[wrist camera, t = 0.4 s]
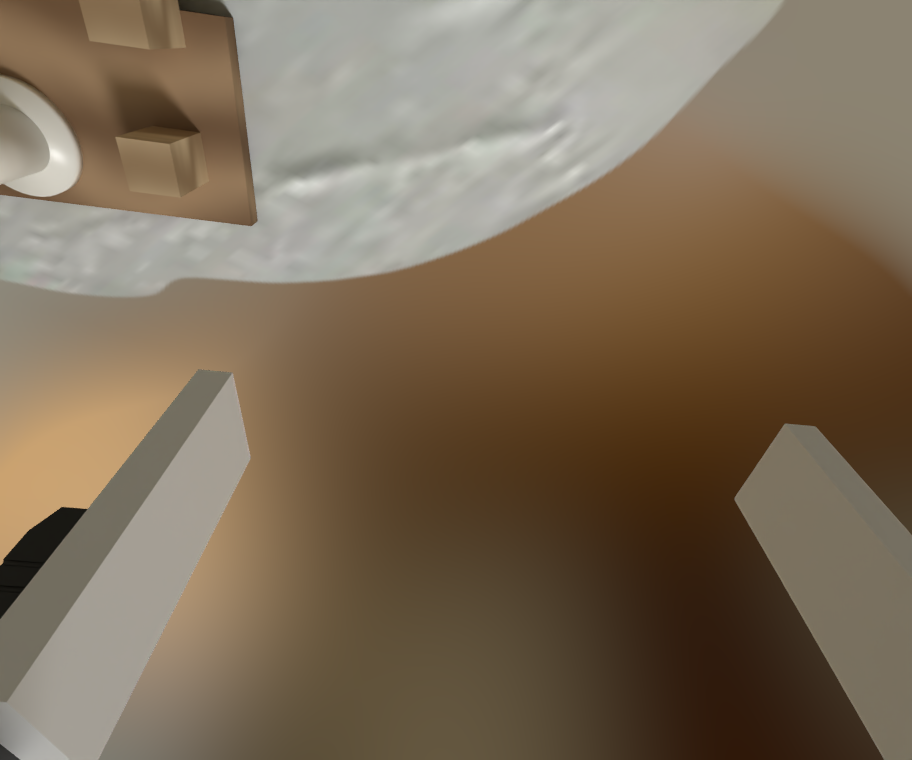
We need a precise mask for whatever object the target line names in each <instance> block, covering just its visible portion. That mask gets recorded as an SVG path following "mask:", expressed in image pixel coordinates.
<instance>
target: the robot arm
mask: <svg viewBox="0 0 912 760" xmlns="http://www.w3.org/2000/svg"><path fill="white" fill-rule="evenodd" d="M249 460H250V452H249V448H248V443H247V439H246V434H245V429H244V424H243V419H242V415H241V410H240V405H239V401H238V396H237V391H236V386H235V382H234V377H233V373H231V372H220V371H210V370H198V371H197V372H196V373H195V375H194V376H193V377H192V378H191V379H190V381H189V382H188V383H187V385H186V386H185V387H184V388H183V390H182V391H181V392H180V393H179V395H178V396H177V397H176V398H175V400H174V401H173V402H172V403H171V405H170V406H169V407H168V408H167V410H166V411H165V412H164V414H163V415H162V416H161V417H160V419H159V420H158V421H157V422H156V424H155V425H154V426H153V427H152V429H151V430H150V431H149V432H148V434H147V435H146V436H145V438H144V439H143V440H142V441H141V442H140V444H139V445H138V446H137V448H136V449H135V450H134V452H133V453H132V454H131V455H130V456H129V458H128V459H127V460H126V462H125V463H124V464H123V465H122V467H121V468H120V469H119V470H118V471H117V473H116V474H115V475H114V477H113V478H112V479H111V480H110V482H109V483H108V484H107V485H106V487H105V488H104V489H103V490H102V492H101V493H100V494H99V495H98V497H97V498H96V499H95V500H94V502H93V503H92V504H91V506H90V507H89V508H88V509H80V508H66V507H61V508H60V509H59V510H57V511H56V512H54V513H53V514H52V515H50V516H49V517H48V518H46V519H44V520H43V521H42V522H40V523H39V524H37V525H36V526H34V527H33V528H32V529H30V530H29V531H28V532H27V533H26V534H25V535H24V536H23V538H22V539H21V540H20V541H19V542H18V543H17V545H16V546H15V547H14V548H13V549H12V550H11V551H10V552H9V554H8V555H7V556H6V557H5V558H4V562H3V564H2V565H0V760H98V759H99V757H100V755H101V753H102V751H103V749H104V747H105V745H106V743H107V741H108V739H109V737H110V735H111V733H112V731H113V729H114V727H115V725H116V723H117V721H118V719H119V717H120V715H121V713H122V711H123V709H124V707H125V705H126V703H127V701H128V699H129V697H130V696H131V694H132V692H133V690H134V688H135V686H136V684H137V682H138V680H139V678H140V676H141V673H142V672H143V670H144V668H145V666H146V664H147V662H148V660H149V658H150V656H151V654H152V652H153V650H154V648H155V646H156V644H157V642H158V640H159V638H160V636H161V634H162V632H163V630H164V628H165V626H166V624H167V622H168V620H169V618H170V616H171V614H172V612H173V611H174V609H175V606H176V605H177V603H178V600H179V599H180V597H181V595H182V593H183V591H184V589H185V587H186V585H187V583H188V581H189V579H190V577H191V575H192V573H193V571H194V569H195V567H196V565H197V563H198V561H199V559H200V557H201V555H202V553H203V551H204V549H205V547H206V545H207V543H208V541H209V539H210V537H211V535H212V533H213V531H214V529H215V527H216V525H217V523H218V521H219V520H220V518H221V515H222V514H223V512H224V510H225V508H226V506H227V504H228V502H229V500H230V498H231V496H232V494H233V492H234V490H235V488H236V486H237V484H238V482H239V480H240V478H241V476H242V474H243V472H244V470H245V468H246V466H247V464H248V462H249ZM735 501H736V503H737V505H738V506H739V508H740V510H741V511H742V513H743V515H744V517H745V518H746V520H747V522H748V524H749V525H750V527H751V529H752V530H753V532H754V534H755V536H756V538H757V539H758V541H759V543H760V545H761V546H762V548H763V550H764V551H765V553H766V555H767V557H768V558H769V560H770V562H771V564H772V565H773V567H774V569H775V570H776V572H777V574H778V576H779V577H780V579H781V581H782V583H783V585H784V586H785V588H786V590H787V591H788V593H789V595H790V597H791V598H792V600H793V602H794V604H795V605H796V607H797V609H798V611H799V612H800V614H801V616H802V617H803V619H804V621H805V623H806V624H807V626H808V628H809V630H810V631H811V633H812V635H813V637H814V638H815V640H816V642H817V644H818V645H819V647H820V649H821V651H822V652H823V654H824V655H825V657H826V659H827V661H828V662H829V664H830V666H831V668H832V670H833V671H834V673H835V675H836V677H837V678H838V680H839V682H840V684H841V685H842V687H843V689H844V690H845V692H846V693H847V696H848V697H849V699H850V701H851V702H852V704H853V706H854V708H855V709H856V711H857V713H858V715H859V716H860V718H861V720H862V722H863V723H864V725H865V727H866V729H867V730H868V732H869V734H870V735H871V737H872V739H873V741H874V742H875V744H876V746H877V748H878V750H879V751H880V753H881V755H882V756H883V758H884V760H912V535H911V534H910V533H909V532H908V530H907V529H906V528H905V527H904V526H903V525H902V524H901V523H900V522H899V521H898V519H897V518H896V517H895V516H894V515H893V514H892V512H891V511H890V510H889V509H888V508H887V507H886V506H885V504H884V503H882V501H881V500H880V499H879V498H878V497H877V495H876V494H875V493H874V492H873V491H872V490H871V489H870V488H869V487H868V485H867V484H866V483H865V482H864V481H863V480H862V479H861V477H860V476H859V475H858V474H857V473H856V472H855V471H854V470H853V468H852V467H851V466H850V465H849V464H848V463H847V462H846V461H845V460H844V458H843V457H842V456H841V455H840V454H839V453H838V452H837V450H836V449H835V448H834V447H833V446H832V445H831V444H830V442H829V441H828V440H827V439H826V438H825V437H824V436H823V435H822V433H821V432H820V431H819V430H818V429H817V428H816V427H814V426H804V425H792V424H785V425H784V426H783V427H782V429H781V430H780V432H779V433H778V435H777V436H776V438H775V439H774V441H773V442H772V444H771V445H770V447H769V448H768V450H767V451H766V452H765V454H764V455H763V457H762V459H761V460H760V461H759V463H758V464H757V466H756V467H755V469H754V470H753V472H752V473H751V475H750V476H749V478H748V479H747V480H746V482H745V484H744V485H743V486H742V488H741V489H740V491H739V492H738V494H737V495H736V497H735Z"/></svg>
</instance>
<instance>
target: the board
mask: <svg viewBox="0 0 912 760" xmlns="http://www.w3.org/2000/svg"><path fill="white" fill-rule="evenodd" d="M0 74H2V75H7V76H11V77H14V78H17V79H19V80H21V81H24V82H26V83H28V84H29V85H31V86H33V87H34V88H36V89H37V90H39V91H40V92H42V93H43V94H44V95H45V96H46V97H48V98H49V99H50V100H51V101H52V102H53V103H54V104H55V105H56V106H57V107H58V108H59V109H60V110H61V112H62V113H63V114H64V115H65V117H66V118H67V119H68V121H69V122H70V124H71V126H72V127H73V129H74V131H75V133H76V135H77V137H78V140H79V142H80V145H81V149H82V154H83V170H82V174H81V176H80V179H79V180H78V182H77V183H76V184H75V185H74V186H73V187H72V188H70V189H69V190H67V191H64V192H62V193H59V194H57V195H53V196H47V197H39V196H32V195H28V194H24V193H21V192H19V191H16V190H14V189H12V188H10V187H8V186H6V185H5V184H1V185H0V195H7V196H15V197H23V198H31V199H39V200H47V201H55V202H63V203H71V204H79V205H87V206H95V207H103V208H111V209H119V210H127V211H135V212H143V213H151V214H159V215H167V216H175V217H183V218H191V219H199V220H207V221H215V222H223V223H231V224H239V225H247V226H252V225H253V224H255V223H256V222H257V221H258V220H257V212H256V204H255V196H254V187H253V179H252V171H251V162H250V154H249V146H248V138H247V129H246V121H245V113H244V105H243V96H242V88H241V80H240V72H239V63H238V55H237V47H236V38H235V30H234V22H233V18H231V17H225V16H218V15H211V14H205V13H198V12H191V11H185V10H179V4H178V0H0Z"/></svg>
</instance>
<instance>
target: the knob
mask: <svg viewBox="0 0 912 760" xmlns="http://www.w3.org/2000/svg"><path fill="white" fill-rule="evenodd" d="M82 170H83V154H82V149H81V145H80V142H79V140H78V137H77V135H76V133H75V131H74V129H73V127H72V126H71V124H70V122H69V121H68V119H67V118H66V117H65V115H64V114H63V113H62V112H61V110H60V109H59V108H58V107H57V106H56V105H55V104H54V103H53V102H52V101H51V100H50V99H49V98H48V97H46V96H45V95H44V94H43V93H42V92H40V91H39V90H37V89H36V88H34V87H33V86H31V85H29V84H28V83H26V82H24V81H21V80H19V79H17V78H14V77H11V76H7V75H2V74H0V185H1V184H5V185H6V186H8V187H10V188H12V189H14V190H16V191H19V192H21V193H24V194H28V195H32V196H39V197H47V196H53V195H57V194H59V193H62V192H64V191H67V190H69V189H70V188H72V187H73V186H74V185H75V184H76V183H77V182H78V180H79V179H80V176H81V174H82Z"/></svg>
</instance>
